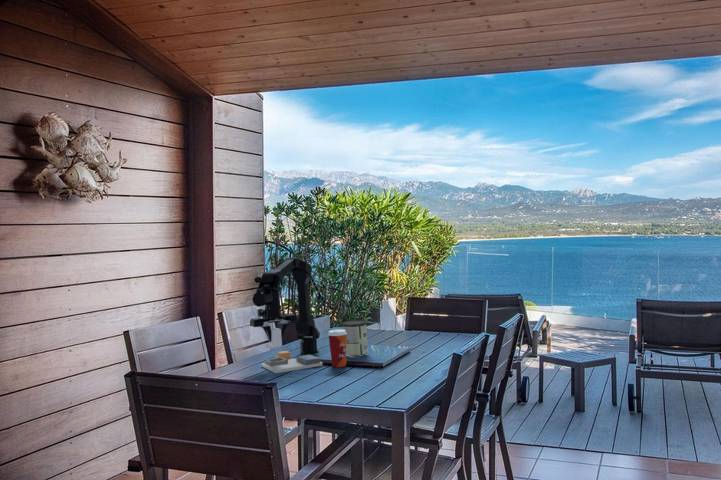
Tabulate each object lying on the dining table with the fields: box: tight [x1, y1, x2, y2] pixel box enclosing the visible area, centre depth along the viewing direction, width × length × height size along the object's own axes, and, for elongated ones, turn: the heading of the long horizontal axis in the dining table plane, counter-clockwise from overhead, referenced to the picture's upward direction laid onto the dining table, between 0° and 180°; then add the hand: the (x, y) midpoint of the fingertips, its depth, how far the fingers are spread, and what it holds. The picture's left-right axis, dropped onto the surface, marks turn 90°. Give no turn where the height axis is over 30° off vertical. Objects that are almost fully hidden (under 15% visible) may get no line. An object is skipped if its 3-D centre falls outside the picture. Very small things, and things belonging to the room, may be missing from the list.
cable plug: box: [274, 350, 291, 360], centre depth 287 cm, size 4×12×4 cm, turn 28°
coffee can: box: [341, 319, 369, 356], centre depth 288 cm, size 10×10×14 cm
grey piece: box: [296, 354, 321, 365], centre depth 273 cm, size 6×10×2 cm, turn 28°
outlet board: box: [261, 357, 324, 374], centre depth 273 cm, size 20×16×3 cm
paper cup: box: [327, 328, 347, 368], centre depth 269 cm, size 8×8×14 cm
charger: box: [268, 327, 283, 349], centre depth 274 cm, size 4×4×7 cm
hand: (275, 341), depth 274 cm, fingers closed on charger, 4 cm apart
